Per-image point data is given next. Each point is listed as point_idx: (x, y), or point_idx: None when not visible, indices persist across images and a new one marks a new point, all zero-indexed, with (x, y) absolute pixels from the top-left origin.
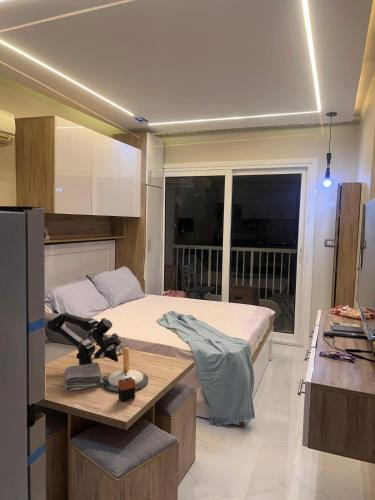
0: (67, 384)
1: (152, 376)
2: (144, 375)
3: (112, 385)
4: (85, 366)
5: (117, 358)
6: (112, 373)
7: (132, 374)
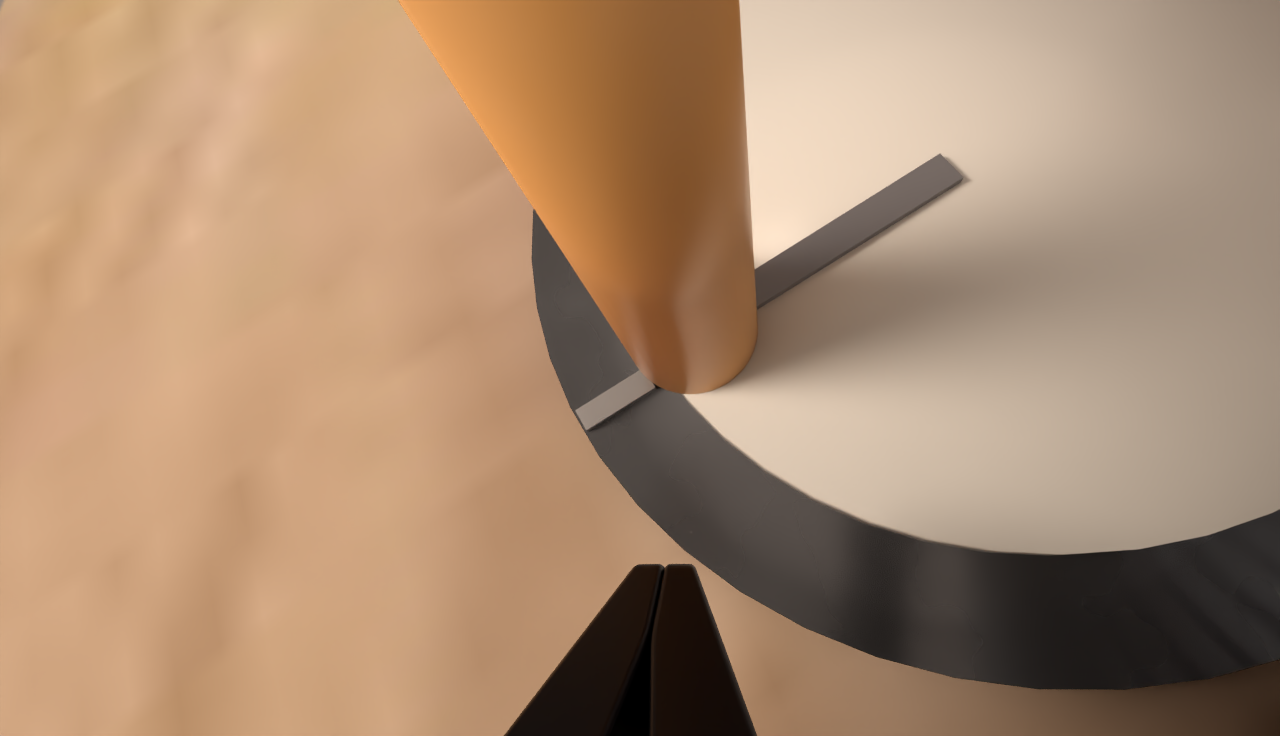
0: None
1: None
2: None
3: None
4: None
5: (625, 612)
6: (1015, 537)
7: (800, 115)
